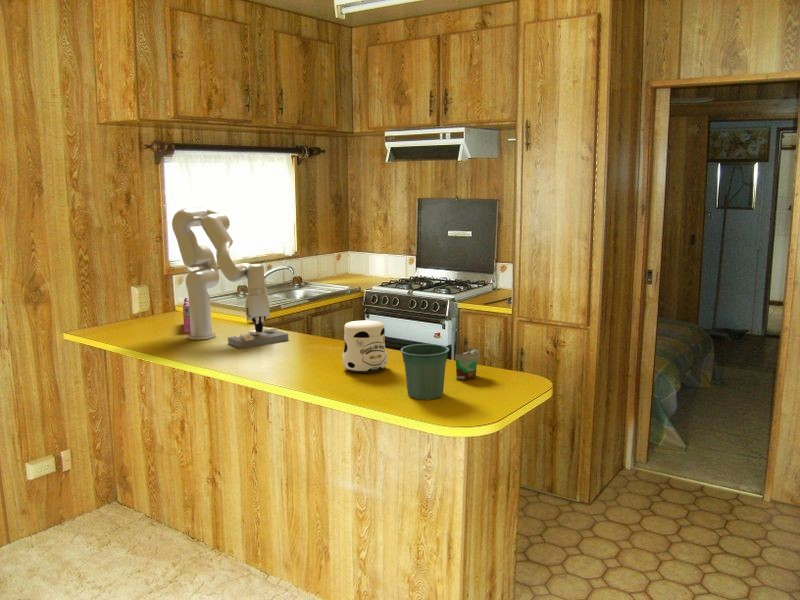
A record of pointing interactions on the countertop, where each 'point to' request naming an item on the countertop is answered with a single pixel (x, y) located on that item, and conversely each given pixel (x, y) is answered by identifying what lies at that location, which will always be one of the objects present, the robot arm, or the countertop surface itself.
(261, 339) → the switch panel
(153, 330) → the countertop surface
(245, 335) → the rocker near
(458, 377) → the food container
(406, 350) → the flower pot
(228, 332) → the countertop surface
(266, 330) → the rocker far
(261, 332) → the rocker mid
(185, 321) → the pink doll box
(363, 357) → the milk container
